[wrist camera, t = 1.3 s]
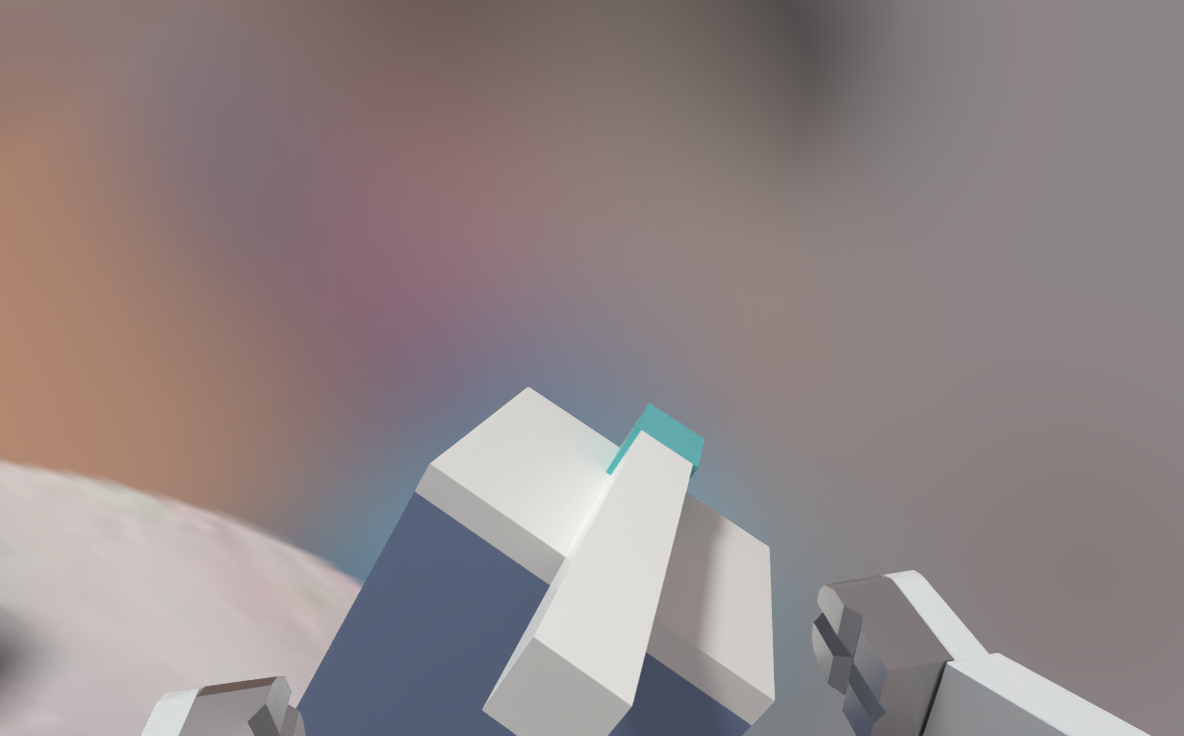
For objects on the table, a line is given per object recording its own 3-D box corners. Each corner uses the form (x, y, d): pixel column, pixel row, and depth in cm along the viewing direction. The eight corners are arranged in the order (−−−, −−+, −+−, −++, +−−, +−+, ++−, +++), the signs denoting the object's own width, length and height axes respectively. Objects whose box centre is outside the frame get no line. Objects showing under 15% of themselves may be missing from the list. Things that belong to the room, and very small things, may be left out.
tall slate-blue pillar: (475, 1019, 33) (774, 700, 24) (229, 830, 34) (430, 463, 25) (545, 816, 43) (769, 547, 35) (357, 679, 45) (528, 386, 36)
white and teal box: (583, 783, 17) (642, 713, 16) (472, 703, 17) (523, 630, 16) (674, 480, 36) (704, 439, 35) (621, 444, 36) (649, 403, 35)
